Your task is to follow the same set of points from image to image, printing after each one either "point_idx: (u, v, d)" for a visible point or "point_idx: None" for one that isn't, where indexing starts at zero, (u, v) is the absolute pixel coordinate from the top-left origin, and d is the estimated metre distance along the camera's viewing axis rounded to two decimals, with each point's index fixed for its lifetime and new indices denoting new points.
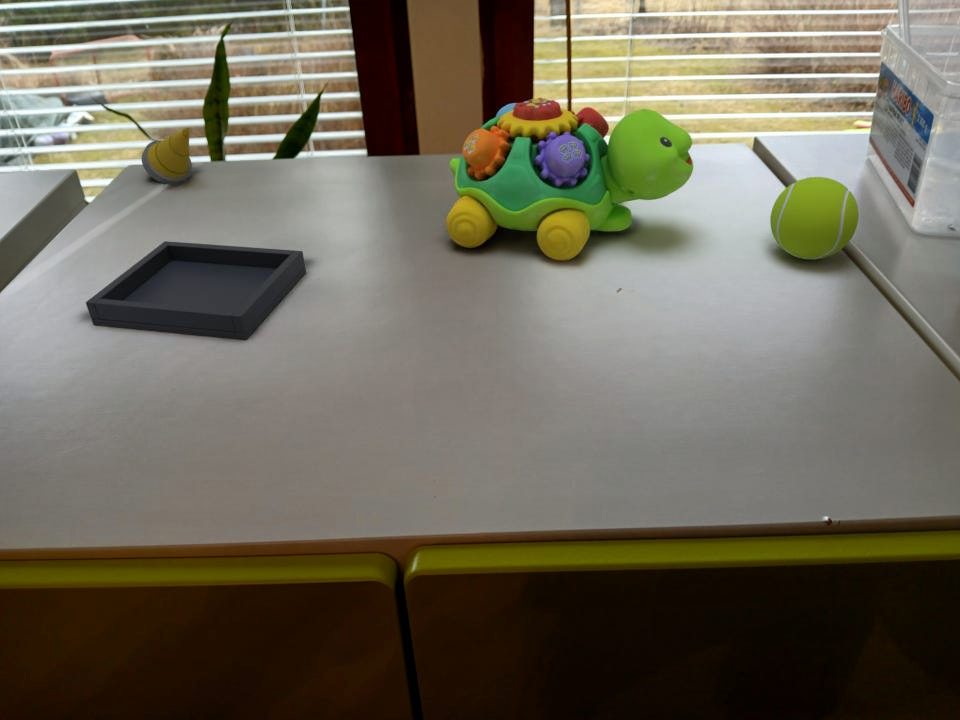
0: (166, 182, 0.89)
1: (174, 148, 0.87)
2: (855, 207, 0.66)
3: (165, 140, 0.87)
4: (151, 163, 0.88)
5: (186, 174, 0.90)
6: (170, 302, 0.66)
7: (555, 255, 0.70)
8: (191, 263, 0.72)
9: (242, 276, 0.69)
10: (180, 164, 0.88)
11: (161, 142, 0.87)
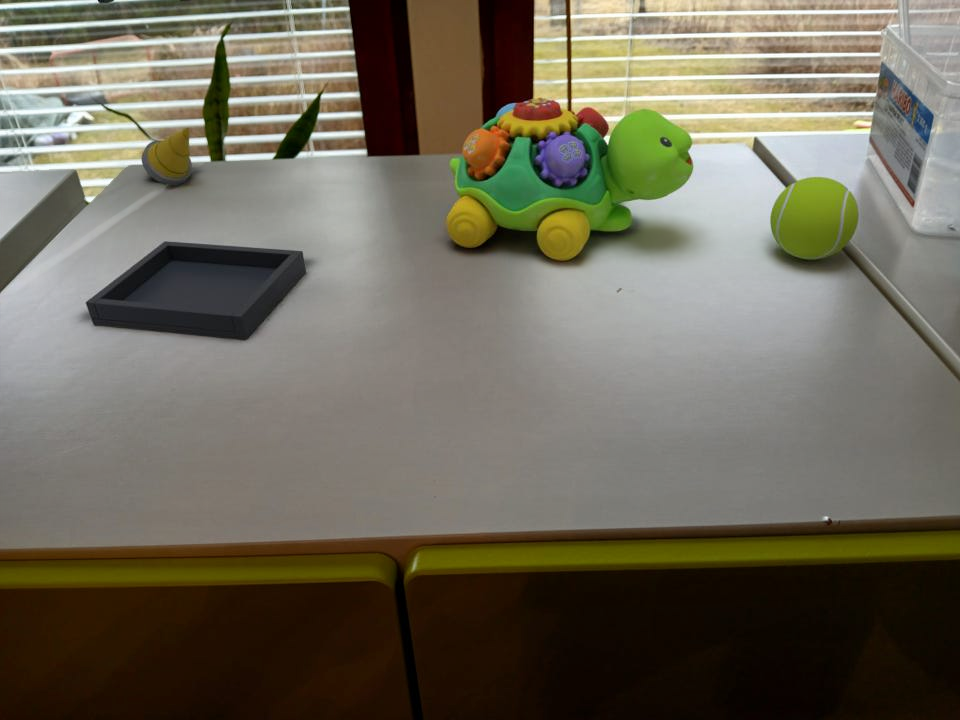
0: (166, 182, 0.89)
1: (174, 148, 0.87)
2: (855, 207, 0.66)
3: (165, 140, 0.87)
4: (151, 163, 0.88)
5: (186, 174, 0.90)
6: (170, 302, 0.66)
7: (555, 255, 0.70)
8: (191, 263, 0.72)
9: (242, 276, 0.69)
10: (180, 164, 0.88)
11: (161, 142, 0.87)
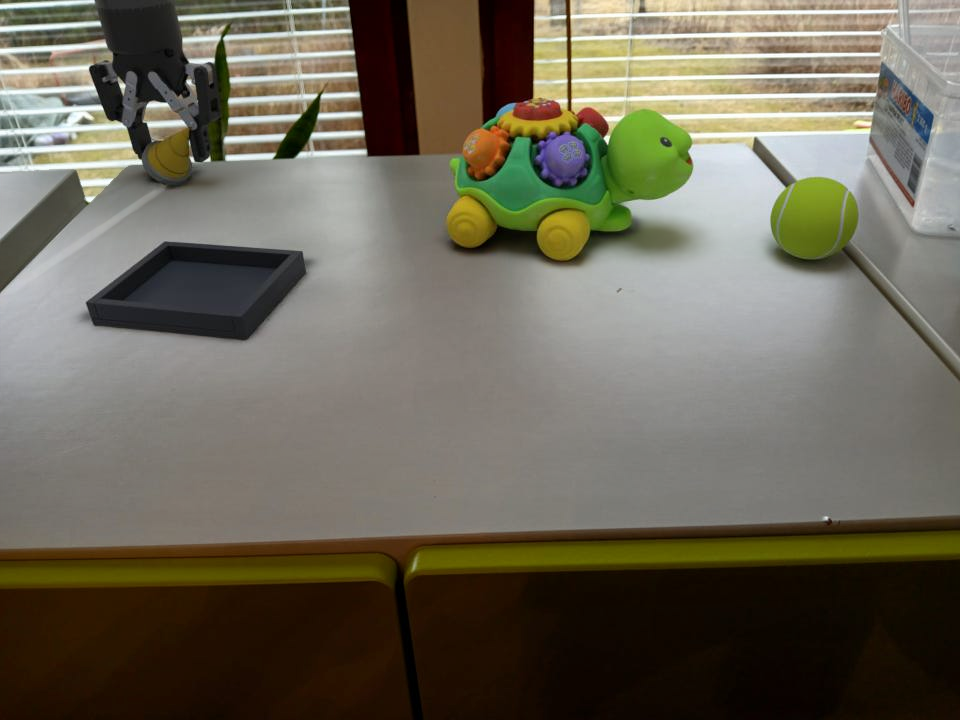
0: (166, 182, 0.89)
1: (173, 148, 0.87)
2: (855, 207, 0.66)
3: (165, 140, 0.87)
4: (151, 164, 0.88)
5: (186, 175, 0.90)
6: (170, 302, 0.66)
7: (555, 255, 0.70)
8: (191, 263, 0.72)
9: (242, 276, 0.69)
10: (180, 164, 0.88)
11: (161, 142, 0.87)
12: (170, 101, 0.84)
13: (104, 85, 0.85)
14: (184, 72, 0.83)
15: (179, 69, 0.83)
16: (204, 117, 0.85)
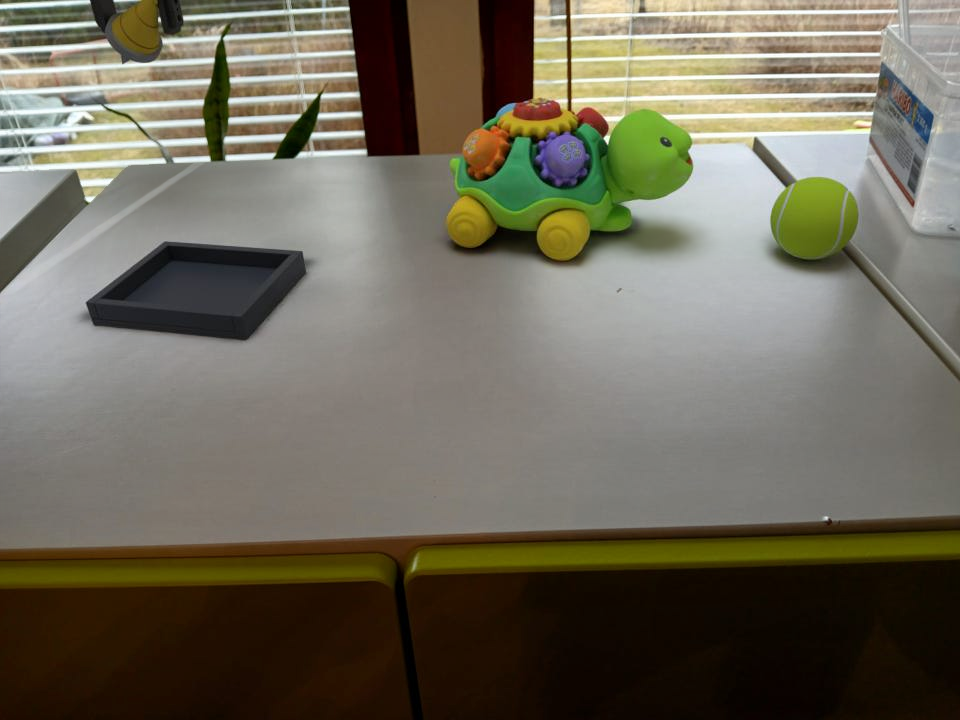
0: (133, 58, 0.80)
1: (140, 16, 0.77)
2: (855, 207, 0.66)
3: (131, 8, 0.78)
4: (116, 35, 0.79)
5: (155, 52, 0.81)
6: (170, 302, 0.66)
7: (555, 255, 0.70)
8: (191, 263, 0.72)
9: (242, 276, 0.69)
10: (148, 37, 0.79)
11: (127, 11, 0.78)
12: None
13: None
14: None
15: None
16: None
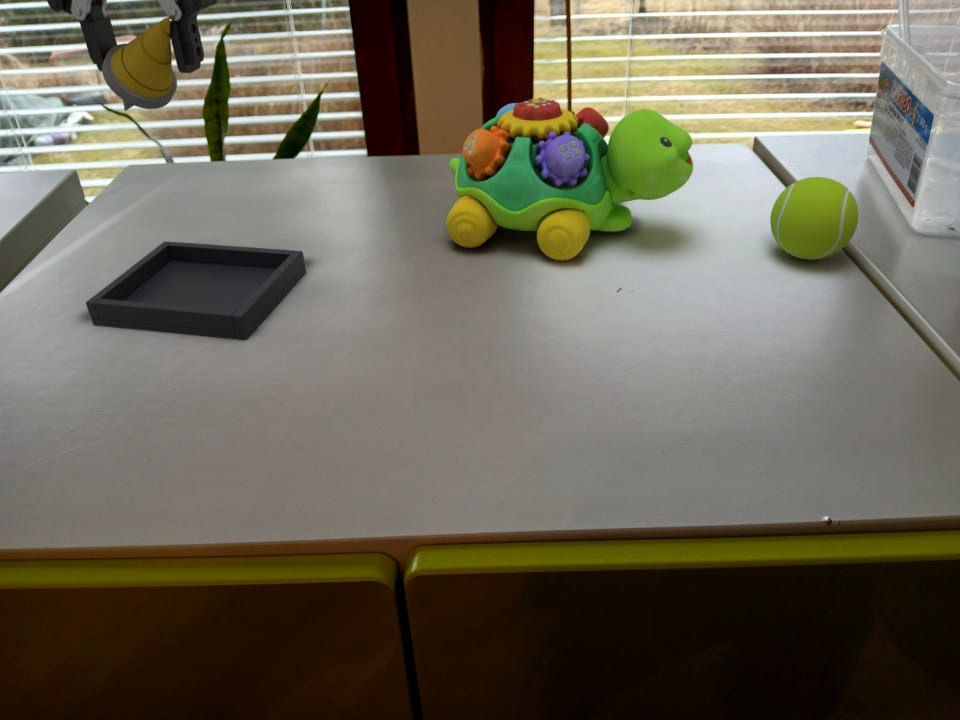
0: (138, 103, 0.61)
1: (147, 50, 0.59)
2: (855, 207, 0.66)
3: (135, 39, 0.59)
4: (116, 75, 0.60)
5: (167, 94, 0.62)
6: (170, 302, 0.66)
7: (555, 255, 0.70)
8: (191, 263, 0.72)
9: (242, 276, 0.69)
10: (158, 76, 0.60)
11: (130, 42, 0.59)
12: None
13: None
14: None
15: None
16: None
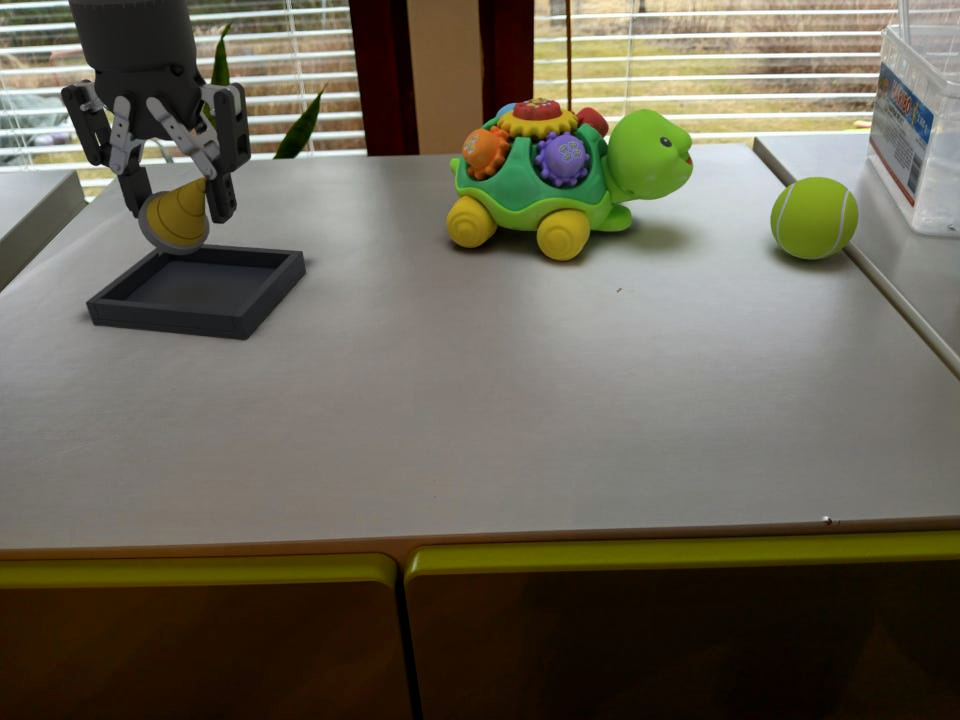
0: (173, 251, 0.63)
1: (183, 206, 0.60)
2: (855, 207, 0.66)
3: (171, 193, 0.61)
4: (152, 226, 0.62)
5: (201, 239, 0.64)
6: (170, 302, 0.66)
7: (555, 255, 0.70)
8: (191, 263, 0.72)
9: (242, 276, 0.69)
10: (193, 227, 0.62)
11: (166, 196, 0.61)
12: (178, 139, 0.58)
13: (83, 116, 0.59)
14: (200, 98, 0.57)
15: (192, 93, 0.56)
16: (228, 162, 0.58)
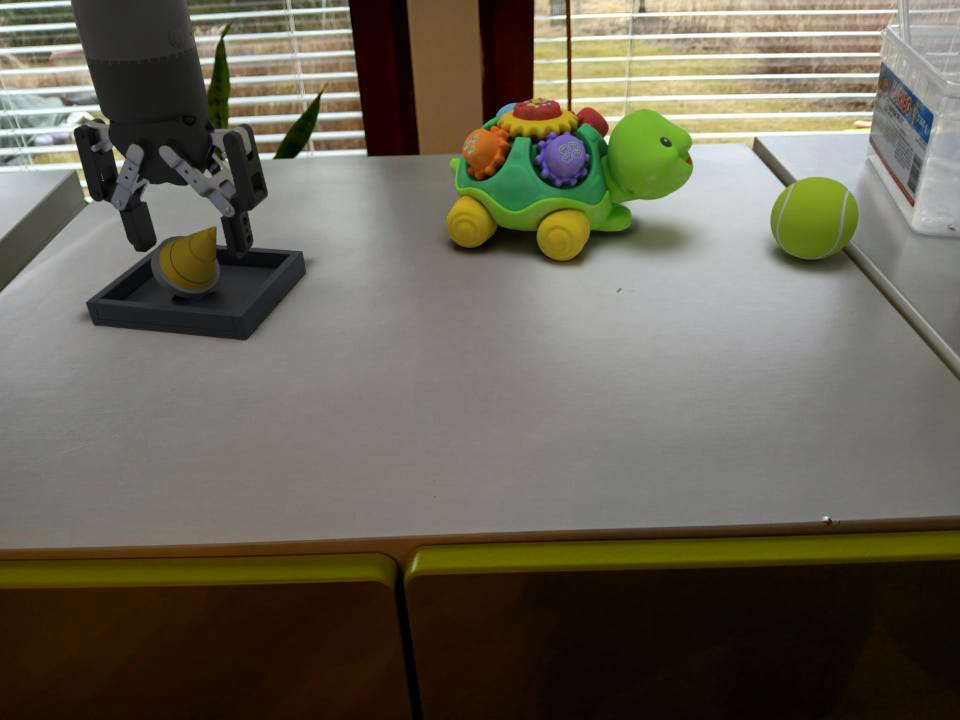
0: (184, 295, 0.65)
1: (195, 253, 0.62)
2: (855, 207, 0.66)
3: (183, 241, 0.63)
4: (165, 271, 0.64)
5: (211, 283, 0.66)
6: (170, 302, 0.66)
7: (555, 255, 0.70)
8: None
9: (242, 276, 0.69)
10: (204, 272, 0.64)
11: (178, 243, 0.63)
12: (193, 182, 0.59)
13: (93, 155, 0.61)
14: (211, 146, 0.59)
15: (203, 142, 0.58)
16: (246, 201, 0.60)
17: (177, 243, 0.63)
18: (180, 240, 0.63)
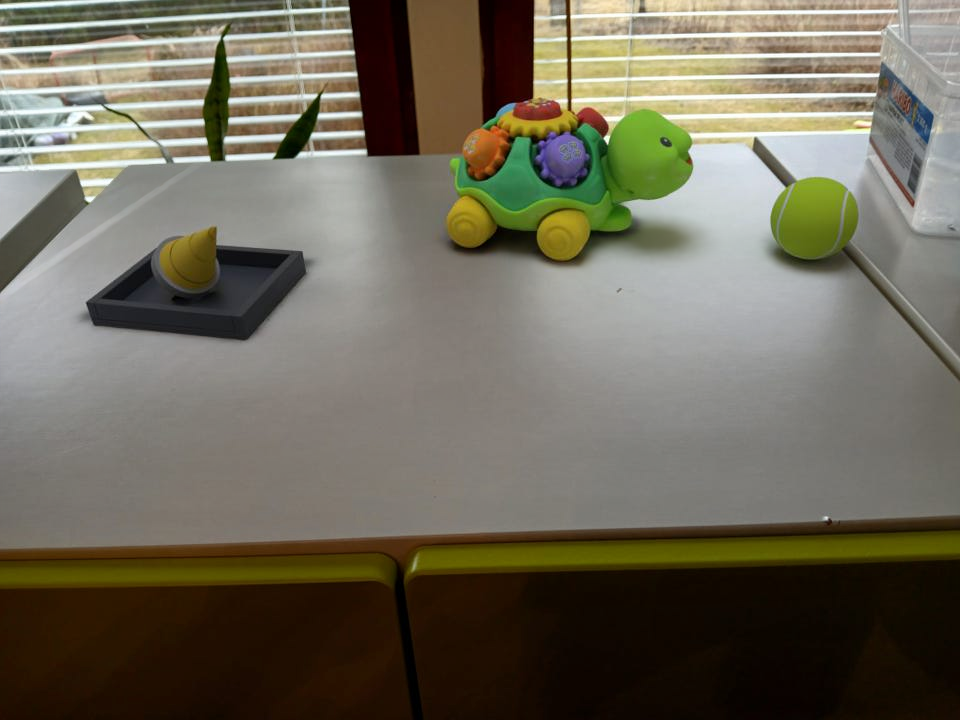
0: (184, 295, 0.65)
1: (195, 253, 0.62)
2: (855, 207, 0.66)
3: (183, 241, 0.63)
4: (165, 271, 0.64)
5: (211, 283, 0.66)
6: (170, 302, 0.66)
7: (555, 255, 0.70)
8: None
9: (242, 276, 0.69)
10: (204, 272, 0.64)
11: (178, 243, 0.63)
12: None
13: None
14: None
15: None
16: None
17: (177, 243, 0.63)
18: (180, 240, 0.63)
